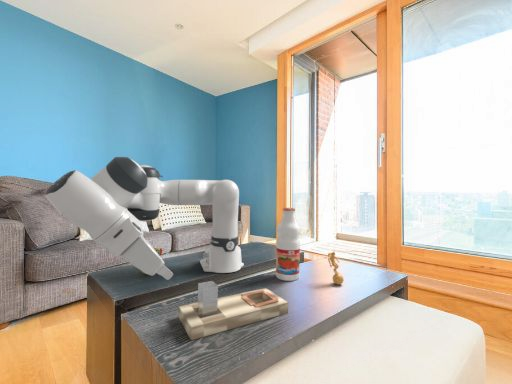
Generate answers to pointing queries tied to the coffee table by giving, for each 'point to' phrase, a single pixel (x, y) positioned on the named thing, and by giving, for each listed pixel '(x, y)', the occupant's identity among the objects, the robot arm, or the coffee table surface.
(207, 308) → the steel peg
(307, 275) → the coffee table surface
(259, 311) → the beige flat wooden block
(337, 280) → the figurine
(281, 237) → the fruit juice
